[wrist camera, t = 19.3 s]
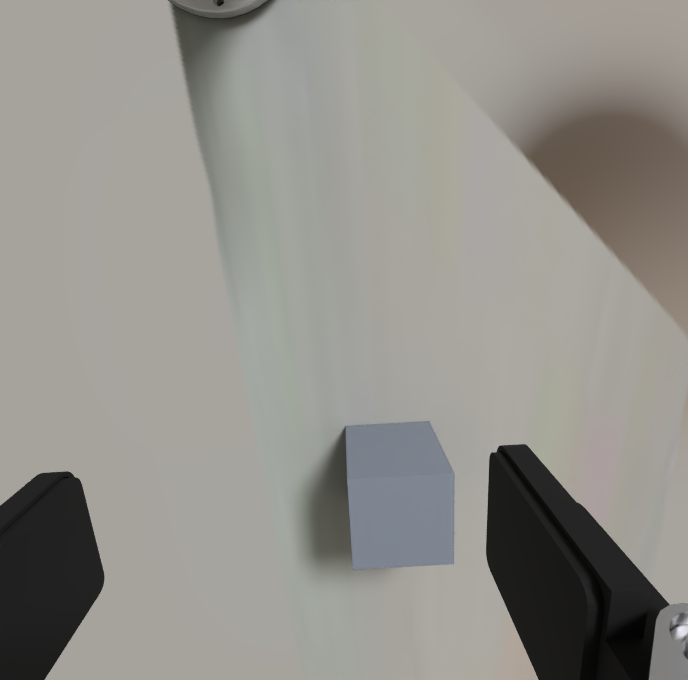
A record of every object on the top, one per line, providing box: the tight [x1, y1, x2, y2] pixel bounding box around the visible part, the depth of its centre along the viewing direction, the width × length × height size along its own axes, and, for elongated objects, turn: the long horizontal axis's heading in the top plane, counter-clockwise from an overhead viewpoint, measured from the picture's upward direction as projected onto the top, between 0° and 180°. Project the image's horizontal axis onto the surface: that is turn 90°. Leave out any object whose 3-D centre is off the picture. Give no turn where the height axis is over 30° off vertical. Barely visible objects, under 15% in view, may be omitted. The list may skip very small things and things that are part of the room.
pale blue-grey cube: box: [346, 421, 454, 570], centre depth 36 cm, size 8×8×9 cm
